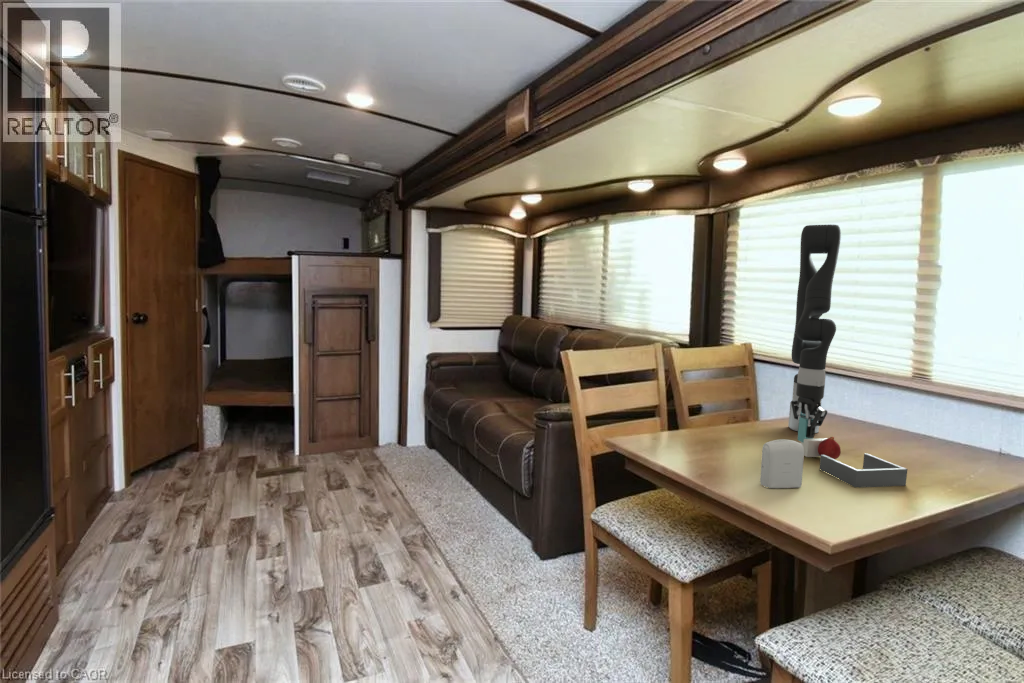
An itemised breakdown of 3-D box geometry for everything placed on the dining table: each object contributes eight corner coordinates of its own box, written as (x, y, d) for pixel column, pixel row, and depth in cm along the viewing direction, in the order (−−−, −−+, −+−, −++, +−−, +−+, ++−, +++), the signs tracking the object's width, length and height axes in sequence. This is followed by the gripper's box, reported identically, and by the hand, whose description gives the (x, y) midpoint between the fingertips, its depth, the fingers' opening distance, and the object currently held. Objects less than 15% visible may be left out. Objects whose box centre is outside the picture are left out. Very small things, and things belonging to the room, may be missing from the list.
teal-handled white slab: (788, 448, 167) (790, 417, 166) (813, 447, 168) (816, 416, 167) (806, 457, 159) (809, 424, 158) (833, 456, 160) (836, 424, 159)
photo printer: (766, 489, 134) (770, 442, 133) (756, 483, 139) (760, 437, 137) (804, 489, 135) (808, 442, 134) (793, 482, 140) (797, 437, 138)
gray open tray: (819, 470, 150) (820, 454, 149) (865, 468, 152) (867, 453, 152) (855, 487, 137) (857, 470, 137) (905, 485, 139) (907, 469, 139)
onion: (815, 462, 156) (820, 437, 154) (816, 455, 161) (820, 431, 159) (838, 467, 153) (843, 441, 151) (838, 460, 158) (842, 435, 156)
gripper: (785, 378, 170) (780, 429, 172) (816, 387, 156) (810, 443, 158) (806, 377, 171) (801, 429, 173) (838, 386, 157) (833, 442, 159)
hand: (805, 435), depth 166 cm, fingers closed on teal-handled white slab, 3 cm apart
